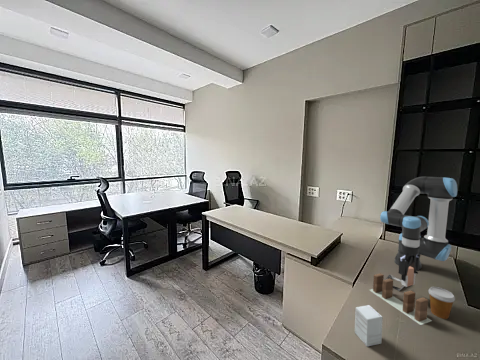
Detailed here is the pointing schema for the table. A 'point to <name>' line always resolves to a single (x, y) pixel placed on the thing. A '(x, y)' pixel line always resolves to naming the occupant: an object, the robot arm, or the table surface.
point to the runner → (400, 307)
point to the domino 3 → (410, 276)
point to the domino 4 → (408, 301)
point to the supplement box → (368, 325)
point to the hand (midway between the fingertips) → (408, 284)
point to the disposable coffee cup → (441, 302)
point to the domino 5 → (421, 309)
